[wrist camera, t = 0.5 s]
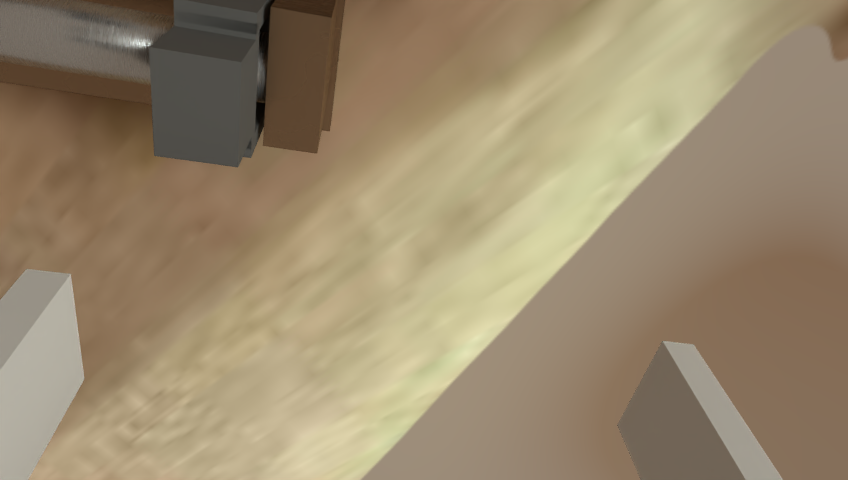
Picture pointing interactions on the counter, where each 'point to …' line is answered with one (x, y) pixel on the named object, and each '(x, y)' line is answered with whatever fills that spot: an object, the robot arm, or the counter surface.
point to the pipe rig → (148, 21)
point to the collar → (208, 81)
